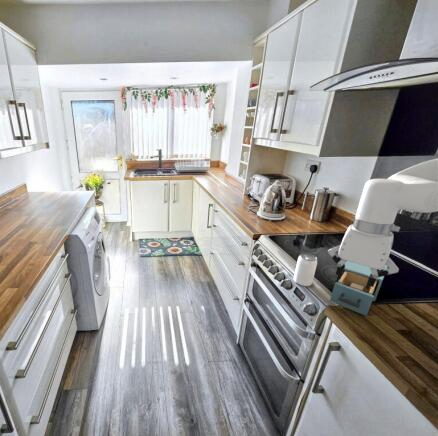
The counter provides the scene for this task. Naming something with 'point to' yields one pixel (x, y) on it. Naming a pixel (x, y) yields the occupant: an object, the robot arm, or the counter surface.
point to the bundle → (357, 286)
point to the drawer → (353, 293)
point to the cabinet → (364, 274)
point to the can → (305, 269)
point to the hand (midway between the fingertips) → (353, 281)
